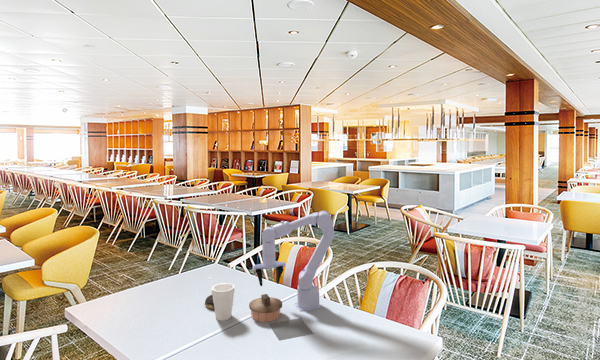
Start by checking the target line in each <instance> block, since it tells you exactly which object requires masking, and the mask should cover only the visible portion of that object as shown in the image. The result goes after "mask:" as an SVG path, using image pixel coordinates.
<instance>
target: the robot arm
mask: <svg viewBox="0 0 600 360" xmlns="http://www.w3.org/2000/svg"><path fill="white" fill-rule="evenodd" d="M308 225H311V226H314V227H317V226H318V227H319V228H320V230H321V233H322V235H321V237H320V240H319V241H318V244H317V245H316V248H315V249H314V251H313V253H312V255H311V257H310V259H309V260H308V262H307V264H306V265H305V267H304V268H303V269H302V270H301V271H300V272H299V274H298V281H297V284H298V285H297V295H296V296H297V300H296V301H297V302H296V303H295V302H294V306H295V307H296V308H297V310H299V312H305V311H306V312H307V311H312V310H315V309H320V308H321V306H320V290H319V288H318V286H317V285H313V283H314V278H315V276H316V272H317V270H318V269H319V267H320V264H321V263H322V261H323V259H324V257H325V255H326V253H327V251H328V250H329V248H330V246H331V244H332V241H333V240H334V238H335V228H334V222H333V218H332V216H331V214H330V213H329V212H328V211H327V210H320V211H318V212H313V213H310V214H307V215H305V216H303V217H300V218H298V219H296V220H293V221H291V222H289V221H288V220H287V221H286V220H285V221H284V220H281V221H280V222H279V223H277V224H274V225H273V224H271V225H270V226H267V227H265V228H264V229H263V231H262V233H261V239H262V245H261V246H262V263H258V264H254V265H252V271H254V272H255V273H256V276H257V279H258V283H259V286H260V287H263V271H262V270H269V269H275V283H276V284H277V285H278V284H280V280H281V276H282V274H283V273H284V268H286V262H285V261H276V239H278V238H281V237H284V236H287V235H289V234H292V231H293V230H295V229H298V228H301V227H305V226H308Z"/></svg>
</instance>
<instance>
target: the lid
mask: <svg viewBox="0 0 600 360" xmlns="http://www.w3.org/2000/svg"><path fill="white" fill-rule="evenodd" d="M248 304H249V306H248V308H249V310H250V311H251V310H252V311H254V312H258V313H271V312H275V311H277V310H279V309H280V310H281V309H282V308H283V301H282V300H281V299H279V298H278V297H271V296H269V294H267V293H265V294H261V295H260V297H259V298H255V299H252V300H251V301H250V302H249V303H248Z"/></svg>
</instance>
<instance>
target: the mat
mask: <svg viewBox="0 0 600 360" xmlns="http://www.w3.org/2000/svg"><path fill="white" fill-rule="evenodd" d="M268 325H269V327H270V329H271V330H272V332H273V334H274V335H275V337H276V338H277V340H278V341H282V340H290V339H293V338H298V337H305V336H309V335H314V334H315V333H314V331H312V330H311V328H310V326H308V324H307V323H306V322H305V321H304V320H303V319H302V318H301V317H298V318H293V319H287V320H281V321H276V322H269V323H268Z"/></svg>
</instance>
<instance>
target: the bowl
mask: <svg viewBox="0 0 600 360" xmlns="http://www.w3.org/2000/svg"><path fill="white" fill-rule="evenodd" d="M250 316H251V318H252V320H254V321H257V322H263V323H264V322H265V323H268V322H274V321H275V320H277V319H280V316H281V309H279V310H277V311H275V312H271V313H258V312H254V311H252V310H251V309H250Z"/></svg>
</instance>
